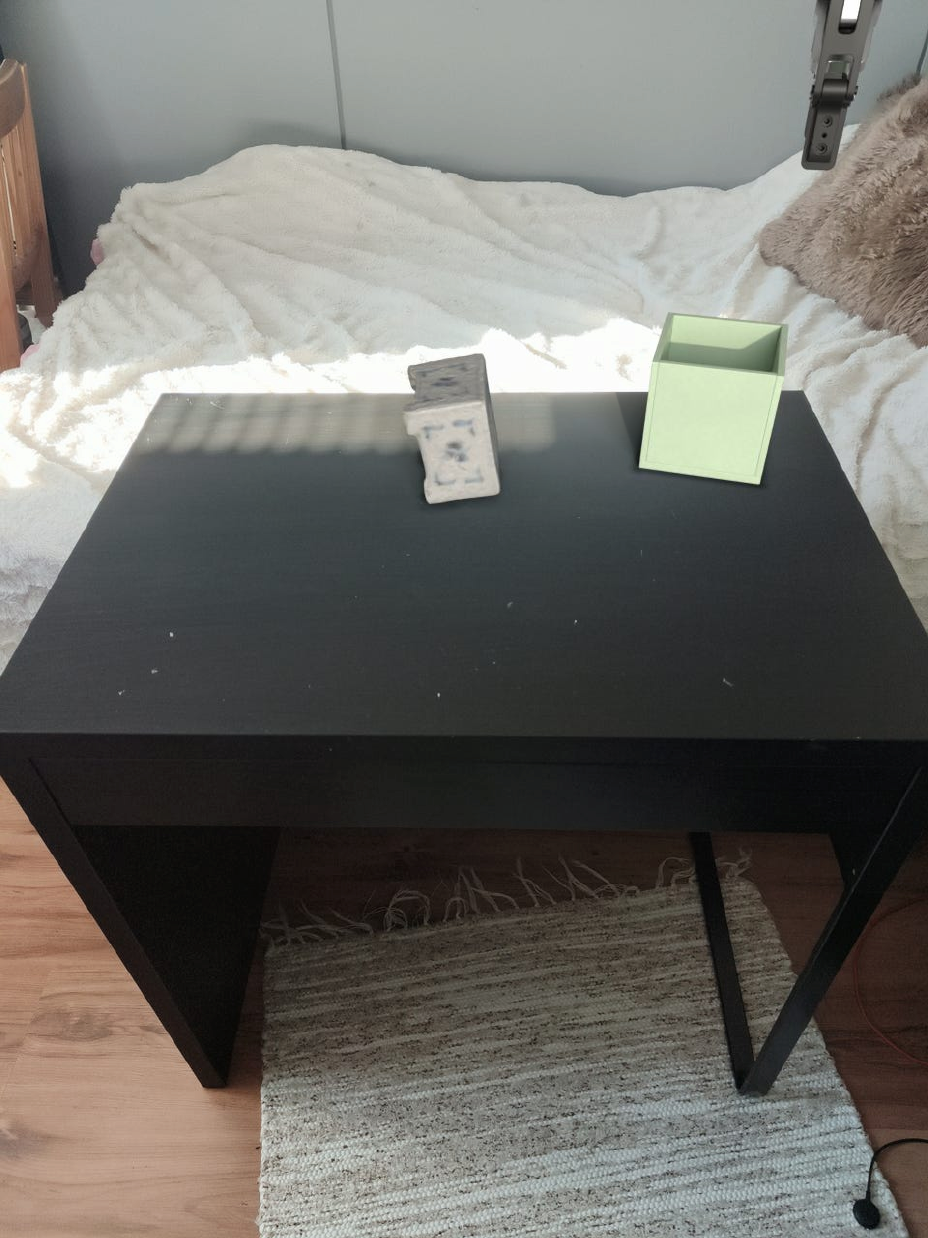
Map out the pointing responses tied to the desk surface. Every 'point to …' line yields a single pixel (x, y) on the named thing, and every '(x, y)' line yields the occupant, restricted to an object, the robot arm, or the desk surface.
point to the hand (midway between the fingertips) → (817, 153)
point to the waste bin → (713, 396)
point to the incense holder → (454, 428)
